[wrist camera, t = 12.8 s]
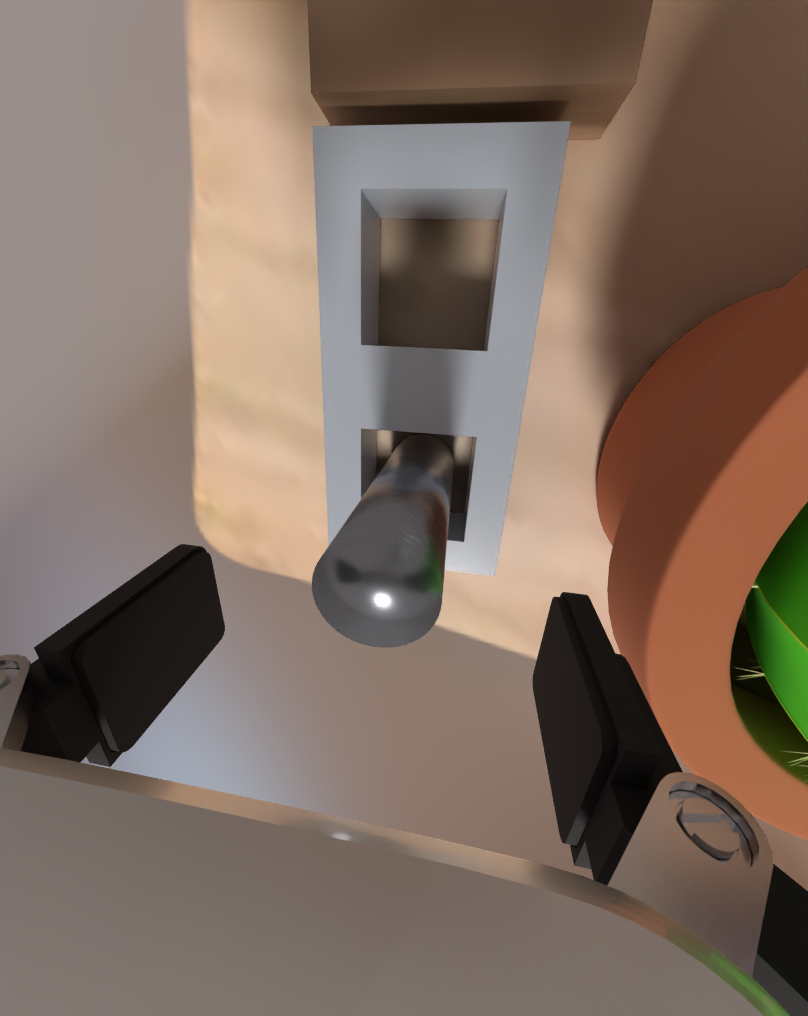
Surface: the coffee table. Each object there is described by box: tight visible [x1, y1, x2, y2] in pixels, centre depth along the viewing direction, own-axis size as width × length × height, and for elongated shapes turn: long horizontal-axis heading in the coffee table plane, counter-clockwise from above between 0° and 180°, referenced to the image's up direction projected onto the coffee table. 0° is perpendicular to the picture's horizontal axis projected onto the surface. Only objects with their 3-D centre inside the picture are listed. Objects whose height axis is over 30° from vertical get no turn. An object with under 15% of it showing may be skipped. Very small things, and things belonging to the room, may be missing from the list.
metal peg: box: [312, 434, 454, 647], centre depth 18 cm, size 4×4×14 cm
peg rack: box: [312, 121, 571, 576], centre depth 20 cm, size 20×10×4 cm, turn 177°
